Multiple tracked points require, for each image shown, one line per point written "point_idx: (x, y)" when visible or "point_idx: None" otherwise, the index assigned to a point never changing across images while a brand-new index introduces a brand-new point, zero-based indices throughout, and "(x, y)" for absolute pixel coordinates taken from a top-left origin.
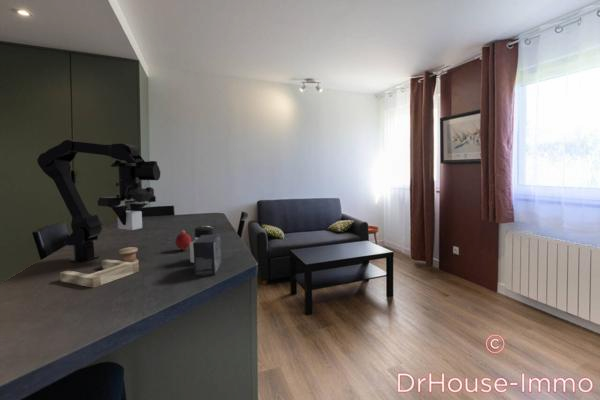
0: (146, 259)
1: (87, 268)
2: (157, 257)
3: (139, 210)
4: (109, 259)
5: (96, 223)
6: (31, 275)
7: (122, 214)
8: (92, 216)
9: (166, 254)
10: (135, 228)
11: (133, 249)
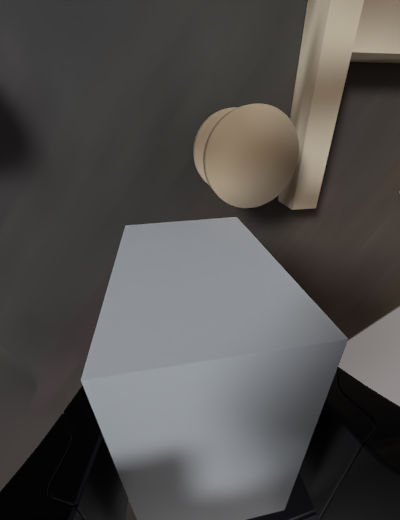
0: (150, 134)
1: (306, 244)
2: (96, 105)
3: (51, 477)
4: (296, 196)
5: None
6: (368, 306)
7: (364, 388)
8: (295, 512)
9: (25, 105)
10: (205, 222)
11: (248, 124)
